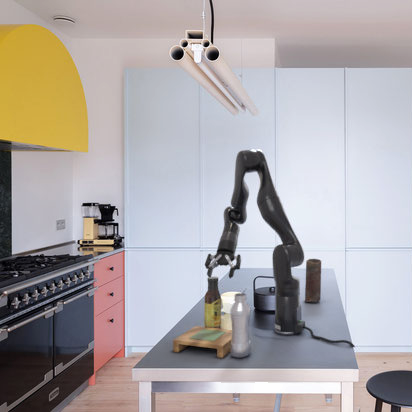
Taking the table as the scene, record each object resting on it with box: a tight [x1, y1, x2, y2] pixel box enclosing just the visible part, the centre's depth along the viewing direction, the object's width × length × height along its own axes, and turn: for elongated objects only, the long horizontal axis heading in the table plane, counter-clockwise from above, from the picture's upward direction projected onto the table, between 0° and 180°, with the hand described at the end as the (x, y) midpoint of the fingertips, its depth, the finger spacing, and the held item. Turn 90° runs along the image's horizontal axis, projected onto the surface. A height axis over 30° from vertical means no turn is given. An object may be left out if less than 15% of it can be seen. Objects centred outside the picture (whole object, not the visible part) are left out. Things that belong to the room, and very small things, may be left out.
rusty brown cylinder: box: [304, 258, 322, 303], centre depth 196 cm, size 8×7×20 cm
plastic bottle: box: [229, 292, 252, 358], centre depth 133 cm, size 6×7×20 cm
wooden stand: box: [172, 325, 232, 359], centre depth 141 cm, size 18×14×4 cm
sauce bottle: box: [203, 276, 222, 329], centre depth 158 cm, size 6×6×20 cm
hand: (219, 277), depth 166 cm, fingers open, 8 cm apart
